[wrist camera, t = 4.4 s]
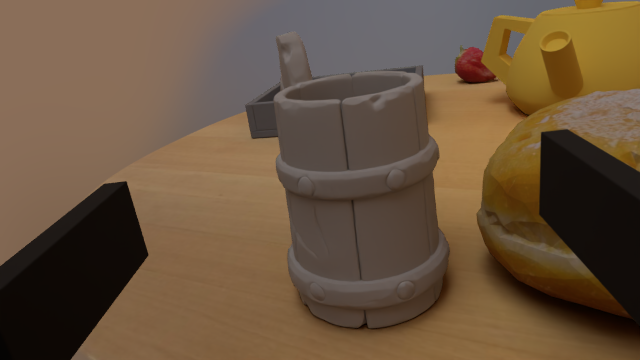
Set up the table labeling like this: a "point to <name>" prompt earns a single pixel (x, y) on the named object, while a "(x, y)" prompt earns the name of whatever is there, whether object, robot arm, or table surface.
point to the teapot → (567, 53)
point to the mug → (358, 192)
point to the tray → (264, 111)
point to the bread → (524, 188)
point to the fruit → (472, 66)
